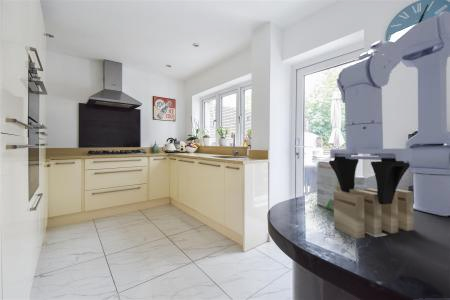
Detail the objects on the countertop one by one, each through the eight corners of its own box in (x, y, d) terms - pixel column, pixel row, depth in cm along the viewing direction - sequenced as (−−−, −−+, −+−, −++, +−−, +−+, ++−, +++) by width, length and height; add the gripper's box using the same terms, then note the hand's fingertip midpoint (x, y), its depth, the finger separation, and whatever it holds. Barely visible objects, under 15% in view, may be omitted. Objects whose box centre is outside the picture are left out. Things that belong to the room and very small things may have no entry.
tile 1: (386, 221, 43) (385, 187, 43) (413, 229, 38) (413, 191, 38) (380, 221, 42) (379, 187, 43) (407, 230, 38) (406, 192, 38)
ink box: (316, 204, 57) (315, 161, 57) (333, 202, 58) (332, 160, 58) (338, 213, 49) (337, 162, 49) (357, 211, 50) (356, 162, 50)
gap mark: (356, 223, 42) (356, 223, 42) (386, 235, 36) (386, 234, 36) (346, 225, 41) (346, 224, 41) (375, 237, 35) (375, 236, 35)
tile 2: (371, 223, 42) (371, 188, 42) (398, 232, 37) (397, 193, 37) (365, 223, 41) (364, 188, 42) (391, 233, 37) (390, 193, 37)
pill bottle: (371, 208, 52) (370, 177, 52) (351, 207, 53) (351, 177, 53) (363, 204, 56) (362, 175, 56) (345, 203, 57) (345, 175, 57)
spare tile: (356, 224, 41) (356, 188, 41) (381, 234, 36) (381, 193, 36) (350, 225, 40) (349, 189, 41) (374, 235, 36) (373, 194, 36)
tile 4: (341, 227, 40) (340, 190, 40) (364, 237, 35) (364, 196, 35) (334, 228, 40) (333, 191, 40) (357, 238, 35) (356, 196, 35)
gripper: (317, 129, 44) (319, 192, 44) (386, 118, 30) (388, 211, 30) (344, 129, 46) (346, 190, 46) (420, 119, 32) (422, 207, 32)
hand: (364, 198), depth 38 cm, fingers open, 7 cm apart
